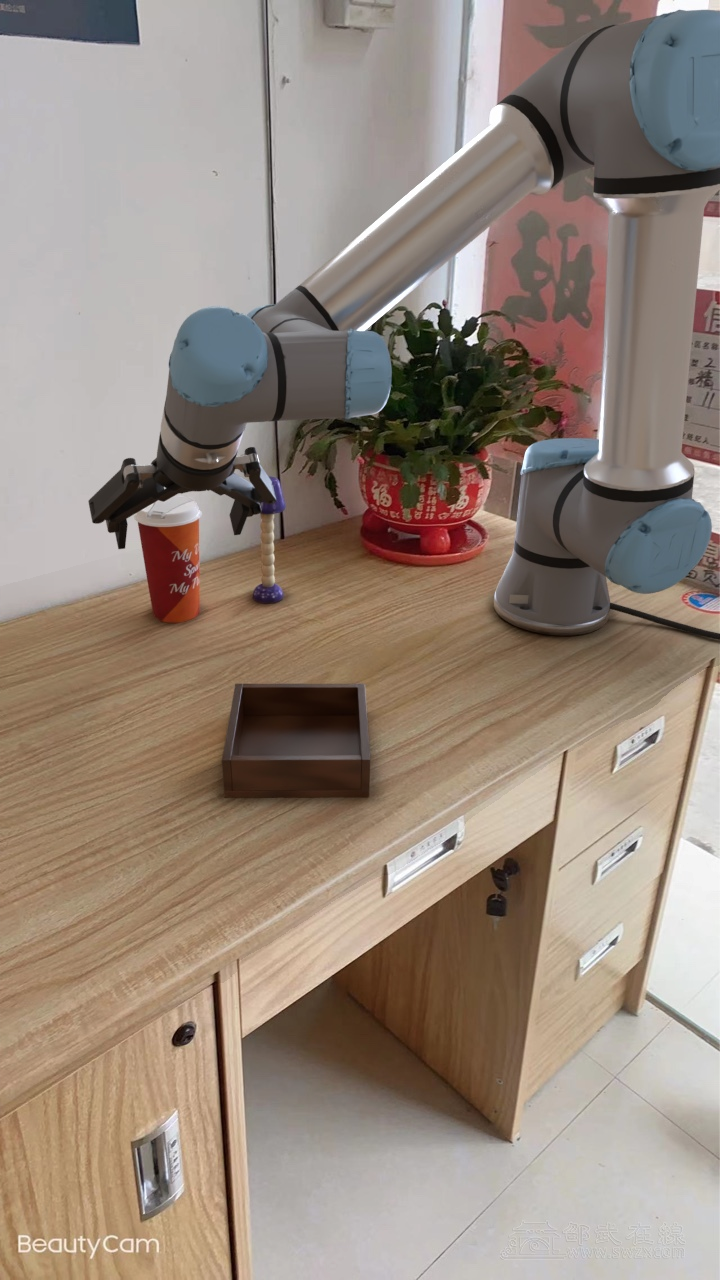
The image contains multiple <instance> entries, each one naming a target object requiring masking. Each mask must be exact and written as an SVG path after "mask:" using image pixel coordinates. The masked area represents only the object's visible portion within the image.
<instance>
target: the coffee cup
mask: <svg viewBox="0 0 720 1280" xmlns="http://www.w3.org/2000/svg"><path fill="white" fill-rule="evenodd" d="M202 514H203V513H202V511H201V509H200V508H199V506H198V503H197V501H196V500H195V499H194V498H191V497H189V496H186V495H179V494H177V495H175V496H173V497H171V498H170V499H168V500H166V501H164V502H163V501H159V500H158V501H156V502H154V503H153V504H151V505H149V506H148V507H146V508H144V509H142V510H141V511H139V512H137V513H136V514H134V515H133V518H134V520H135V522H137V526H138V527H137V528H138V532H139V537H140V539H139V540H140V543H141V550H142V551H141V552H142V556H143V562H144V563H143V564H144V569H145V575H146V581H147V586H148V592H149V599H150V603H151V609H152V613H153V617H154V618H155V619H157V620H158V621H160V622H163V623H169V624H174V623H177V624H178V623H184V622H188V621H190V620H192V619H195V618H196V617H197V616H198V615H199V613H200V599H201V597H200V592H201V589H200V586H201V585H200V575H201V574H200V518H201V517H202Z"/></svg>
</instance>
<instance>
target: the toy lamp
mask: <svg viewBox="0 0 720 1280" xmlns="http://www.w3.org/2000/svg"><path fill="white" fill-rule="evenodd" d="M268 477H269V478H270V480H271V481H272V485H273V489H274V493H275V497H276V502H275V503H274V504H266V502H262V503H260V506H261V510H262V512H261V513H260V514H259V517H260V520H261V521H260V530H261V533H260V541H261V544H260V551H261V555H260V556H261V557H260V561H261V567H260V568H261V571H260V572H261V574H262V575H261V579H260V580H261V583H260V584H257V586H256V587H254V590H253V592H252V599H253V600H254V601H255V602H258V603H261V604H274V603H277V602H278V603H279V602H280V601H282V600H283V599H284V592H283V589H282V588H281V586H279V585H278V584H276V583H275V582H276V581H275V580H276V579H275V578H276V577H275V575H274V574H275V565H274V563H275V554H274V551H275V544H274V541H275V533H274V529H275V524H274V523H275V522H274V518H275V514H281V513H282V512H284V511H285V510H286V506H287V505H286V501H285V497H284V493H283V490H282V485H281V482H280V480H279V479H278V478H277V477H276V476H271V475H268Z"/></svg>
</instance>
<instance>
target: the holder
mask: <svg viewBox="0 0 720 1280" xmlns="http://www.w3.org/2000/svg"><path fill="white" fill-rule="evenodd" d="M366 694H367V693H366V684H365V683H235V684H234V690H233V694H232V695H233V696H232V701H231V706H230V712H229V718H228V723H227V727H226V728H227V730H226V734H225V741H224V745H223V752H222V758H221V766H222V768H221V769H222V771H221V772H222V783H223V784H222V785H223V786H222V787H223V797H224V798H369V797H370V783H371V781H370V780H371V751H370V738H369V737H370V735H369V723H368V721H369V720H368V710H367V709H368V708H367V695H366Z"/></svg>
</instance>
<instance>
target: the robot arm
mask: <svg viewBox="0 0 720 1280" xmlns="http://www.w3.org/2000/svg"><path fill="white" fill-rule="evenodd" d="M589 169H593V194H592V195H593V196H592V197H594V198H595V199H596V201H598V203H599V204H600V205H601V206H602V207H603V208H604V209H605V210H606V211H607V215H608V228H607V229H608V231H607V232H608V233H607V251H606V252H607V253H606V273H605V274H606V276H605V296H604V297H605V298H604V299H605V300H604V320H603V323H604V324H603V340H602V342H603V343H602V364H601V387H600V388H601V389H600V411H599V429H598V430H599V431H598V432H599V433H598V439H597V438H585V437H584V438H583V437H581V438H580V437H566V438H565V437H562V438H550V439H543V440H539V441H536V442H534V443H532V444H531V445H529V446H528V447H527V449H526V450H525V453H524V457H523V461H522V466H521V469H520V472H519V473H520V474H519V475H521V477H520V485H519V493H518V494H519V496H518V505H517V506H518V507H517V514H516V522H515V523H516V524H515V534H514V541H513V542H514V543H513V549H512V554H511V556H510V558H509V560H508V562H507V565H506V566H505V569H504V571H503V572H502V575H501V578H500V580H499V581H498V584H497V586H496V590H495V592H494V598H493V607H494V610H495V612H496V614H497V615H498V616H499V617H500V618H502V620H504V621H506V622H508V623H509V624H511V625H513V626H514V627H518V628H520V629H522V630H526V631H528V632H532V633H538V634H542V635H548V636H549V635H550V636H577V635H579V636H580V635H585V634H589V633H592V632H596V631H597V630H599V629H601V628H602V627H604V626H605V625H606V624H607V622H608V621H609V619H610V618H609V617H610V611H611V610H612V611H616V612H618V613H619V612H620V613H622V614H626V615H629V616H633V617H637V618H639V619H643V620H646V621H649V622H653V623H656V624H658V625H662V626H665V627H669V628H673V629H676V630H680V631H683V632H687V633H690V634H693V635H697V636H701V637H705V638H709V639H714V640H717V641H720V633H719V632H715V631H712V630H711V631H710V630H706V629H702V628H698V627H695V626H691V625H688V624H684V623H680V622H677V621H673V620H670V619H667V618H663V617H660V616H657V615H654V614H651V613H648V612H644V611H641V610H637V609H634V608H631V607H628V606H623V605H619V604H617V603H613V602H611V598H610V593H609V592H610V591H609V587H608V581H607V580H609V581H610V582H611V584H614V585H617V586H621V587H623V588H625V589H626V590H628V591H630V592H633V593H636V594H641V595H649V594H650V595H651V594H656V593H659V592H663V591H666V590H668V589H670V588H672V587H674V586H675V585H676V584H679V583H680V582H681V581H683V579H685V578H686V577H687V576H688V575H689V573H690V572H691V571H692V570H693V569H695V568H696V567H697V566H698V564H699V563H700V562H701V560H702V558H703V557H704V555H705V553H706V551H707V549H708V547H709V544H710V541H711V537H712V531H713V525H712V524H713V523H712V519H711V516H710V513H709V512H708V511H707V510H706V509H705V506H704V505H703V504H702V503H701V502H700V501H696V500H695V499H694V498H693V493H694V491H693V490H694V481H695V465H694V463H693V462H692V461H691V460H690V459H689V458H688V457H687V456H686V455H685V454H683V452H682V450H683V449H682V448H683V439H684V430H685V429H684V428H685V420H686V419H685V418H686V407H687V396H688V386H689V374H690V373H689V372H690V365H691V355H692V354H691V353H692V344H693V343H692V342H693V333H694V323H695V313H696V312H695V310H696V301H697V299H696V298H697V290H698V289H697V288H698V278H699V270H700V269H699V267H700V259H701V257H700V256H701V246H702V236H703V225H704V216H705V215H704V214H705V207H706V206H707V204H708V202H709V201H710V200H712V198H713V197H714V196H715V195H716V194H718V192H719V191H720V11H719V10H716V9H693V10H692V9H691V10H684V9H677V10H675V11H670V12H667V13H662V14H659V15H655V16H651V17H647V18H642V19H637V20H634V21H629V22H625V23H620V24H611V25H606V26H603V27H599V28H597V29H592V30H591V31H589V32H587V33H585V34H583V35H581V36H580V37H578V38H577V39H575V40H574V41H572V42H571V43H570V44H568V45H566V46H565V47H564V48H562V49H561V50H560V51H559V52H557V53H556V54H555V55H554V56H553V57H551V58H550V59H548V61H546V62H545V63H543V65H542V66H540V67H539V68H538V69H537V70H535V71H534V73H532V74H531V75H530V76H529V77H528V78H526V79H525V80H524V81H523V82H521V84H519V85H518V86H517V87H516V88H515V89H513V90H512V91H511V92H510V93H509V94H508V95H506V96H505V97H504V98H503V99H501V100H500V101H499V102H498V103H497V104H496V105H495V106H494V107H493V108H492V109H491V110H490V112H489V115H488V121H487V126H486V128H484V129H483V130H481V132H479V134H477V135H476V136H475V137H473V138H472V139H471V140H470V141H469V142H468V143H466V144H465V145H464V146H463V147H462V148H461V149H459V150H458V151H457V152H456V153H454V154H453V155H452V156H451V157H450V158H449V159H447V160H446V161H445V162H444V163H442V164H441V165H440V166H439V167H438V168H437V169H435V170H434V171H433V172H432V173H430V175H428V176H427V177H426V178H425V179H423V181H421V182H420V183H419V184H418V185H416V186H415V187H414V188H413V189H412V190H410V191H409V192H408V193H407V194H406V195H405V196H403V197H402V198H401V199H400V200H398V201H397V202H396V203H395V204H394V205H393V206H391V207H390V208H389V209H388V210H387V211H386V212H384V213H383V214H381V216H380V217H378V218H376V220H375V221H374V222H372V223H371V224H370V225H369V226H368V227H366V229H364V230H363V231H362V232H361V233H359V234H358V235H357V236H356V237H354V238H353V239H352V240H351V241H350V242H349V243H348V244H346V245H345V246H344V247H343V248H341V250H340V251H338V252H337V253H336V254H335V255H333V256H332V257H331V258H330V259H328V261H326V262H325V263H324V264H322V266H320V267H319V268H318V269H317V270H315V271H314V272H313V273H312V274H311V275H309V276H308V277H307V278H306V279H305V280H304V281H302V282H301V283H300V284H299V285H297V286H296V287H295V288H294V289H293V290H291V291H290V292H288V293H287V294H286V295H285V296H284V297H282V299H280V300H279V301H278V302H276V303H271V304H265V305H262V306H261V305H260V306H258V307H255V308H254V309H252V310H250V311H249V312H248V313H247V314H246V313H244V312H242V313H240V312H238V311H235V310H233V309H231V308H230V307H228V306H220V305H219V306H216V305H215V306H207V307H204V308H201V309H198V310H196V311H195V312H193V313H191V314H190V315H188V316H187V317H186V318H185V320H183V322H182V323H181V325H180V327H179V329H178V331H177V333H176V337H175V339H174V342H173V346H172V350H171V353H170V355H169V358H168V359H169V360H168V378H167V385H166V395H165V401H164V406H163V411H162V416H161V417H162V418H161V422H160V431H159V436H158V443H157V450H156V457H155V458H154V459H153V460H151V463H150V464H137V461H136V459H135V458H133V457H127V458H125V459H123V460H122V464H121V466H120V469H119V470H118V471H117V472H116V473H115V474H114V475H113V476H112V477H111V478H110V479H109V480H108V481H107V482H106V483H105V484H104V485H103V486H102V487H101V488H100V489H98V490H97V491H96V492H95V493H94V495H92V497H90V498H89V499H88V508H89V512H90V517H91V522H92V523H93V524H96V525H98V524H99V525H100V524H102V523H104V522H105V524H106V528H107V532H108V533H109V534H113V533H114V535H115V539H116V544H117V549H118V550H123V549H126V544H127V536H128V535H127V534H128V519H129V518H130V517H132V516H134V515H135V514H136V513H137V512H139V511H141V510H142V509H144V508H146V507H148V506H149V505H151V504H153V503H154V502H156V501H158V500H159V501H163V502H164V501H166V500H168V499H170V498H171V497H173V496H175V495H179V494H181V495H182V494H185V493H186V494H187V493H191V492H206V491H208V492H209V491H211V492H213V493H215V494H216V495H218V496H220V497H221V496H223V495H226V496H227V497H229V498H231V499H232V500H233V503H232V506H231V509H230V512H229V519H230V524H231V527H232V532H233V536H240V535H241V534H242V531H243V529H244V526H245V523H246V522H247V518H250V517H253V516H254V515H255V516H256V515H260V513H261V512H262V510H261V506H260V503H262V502H266V504H274V503H275V502H276V497H275V493H274V489H273V485H272V481H271V480H270V478H269V477H268V476H269V475H268V474H267V473H266V471H265V469H264V468H263V467H262V465H261V464H260V460H259V455H258V451H257V448H256V447H255V446H249V447H247V448H245V449H244V454H240V455H238V451H239V447H240V444H241V441H242V439H243V435H244V432H245V429H246V427H247V424H249V423H265V422H282V421H304V420H305V421H306V420H328V419H345V420H350V419H351V418H357V417H365V416H371V415H372V416H373V415H376V414H378V413H379V412H381V411H382V410H383V409H384V407H385V406H386V405H387V402H388V400H389V397H390V393H391V387H392V375H393V372H392V371H393V370H392V361H391V354H390V352H389V348H388V345H387V343H386V341H385V340H384V338H383V337H382V336H381V335H380V334H379V333H378V332H376V331H373V330H368V328H370V327H371V326H372V325H373V324H374V323H376V322H377V321H378V320H380V318H381V317H383V316H384V315H385V314H386V313H387V312H389V311H390V310H391V309H392V308H393V307H395V306H396V305H397V304H398V303H399V302H401V301H402V300H403V299H404V298H406V297H407V296H408V295H409V294H410V293H412V292H413V291H414V290H415V289H416V288H418V287H419V286H420V285H422V283H424V282H425V281H427V280H428V279H429V278H430V277H431V276H432V275H433V274H434V273H436V272H437V271H438V270H439V269H440V268H442V267H443V266H444V265H445V264H447V263H448V262H449V261H450V260H451V259H453V258H454V257H455V256H456V255H457V254H458V253H460V252H461V251H462V250H464V249H465V248H466V247H467V246H469V244H470V243H472V242H473V241H475V239H476V238H478V237H479V236H480V235H481V234H482V233H484V232H485V231H486V230H487V229H488V228H490V227H491V226H492V225H494V223H496V222H498V220H500V219H501V218H502V217H503V216H504V215H506V214H507V213H509V211H510V210H512V209H513V208H514V207H515V206H516V205H517V204H519V203H520V202H521V201H522V200H524V199H525V198H526V197H527V196H528V195H530V194H532V195H537V196H542V195H545V194H547V193H548V192H549V191H550V190H552V189H553V188H554V187H555V186H556V185H557V184H559V183H560V182H561V181H563V180H564V179H566V178H568V177H570V176H572V175H574V174H577V173H579V172H581V171H586V170H589ZM236 470H239V472H241V473H243V477H242V476H240V475H239V474H237V473H235V471H236ZM244 477H245V478H248V480H246V479H245V478H244Z"/></svg>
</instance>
